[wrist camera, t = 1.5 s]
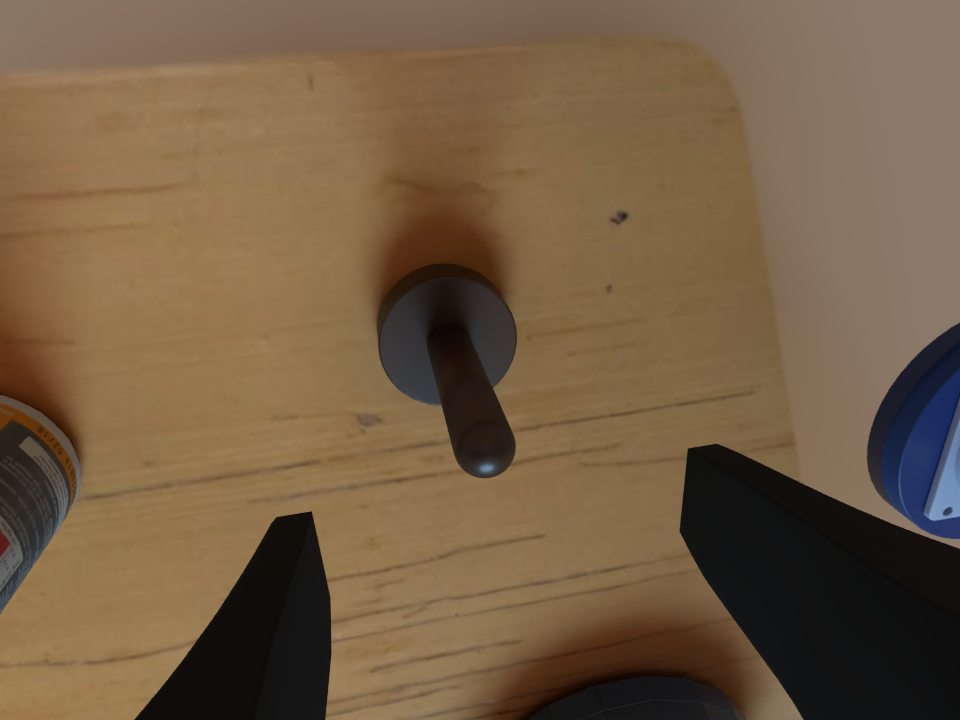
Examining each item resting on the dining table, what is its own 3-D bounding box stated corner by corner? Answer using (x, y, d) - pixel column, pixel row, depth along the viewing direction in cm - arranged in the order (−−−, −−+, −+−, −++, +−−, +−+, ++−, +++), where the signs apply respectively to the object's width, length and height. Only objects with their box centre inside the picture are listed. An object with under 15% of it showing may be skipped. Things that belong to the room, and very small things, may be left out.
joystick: (504, 257, 20) (591, 358, 12) (508, 377, 22) (586, 530, 14) (369, 269, 19) (375, 383, 12) (384, 392, 21) (397, 559, 14)
